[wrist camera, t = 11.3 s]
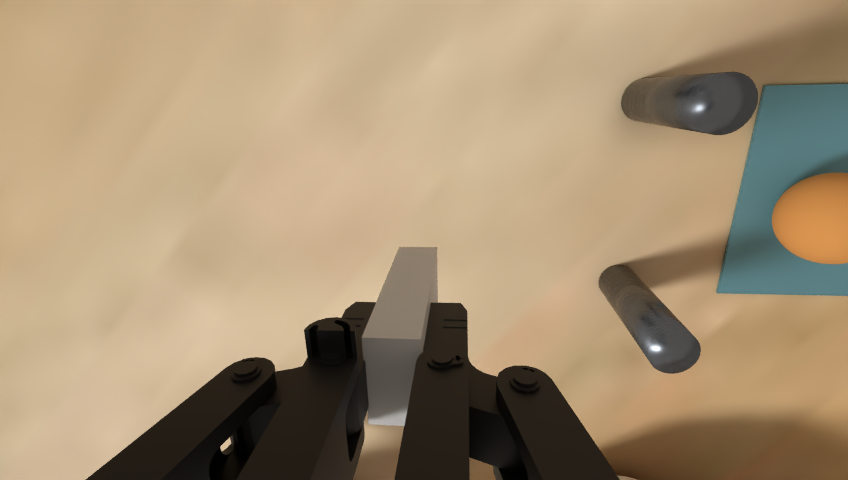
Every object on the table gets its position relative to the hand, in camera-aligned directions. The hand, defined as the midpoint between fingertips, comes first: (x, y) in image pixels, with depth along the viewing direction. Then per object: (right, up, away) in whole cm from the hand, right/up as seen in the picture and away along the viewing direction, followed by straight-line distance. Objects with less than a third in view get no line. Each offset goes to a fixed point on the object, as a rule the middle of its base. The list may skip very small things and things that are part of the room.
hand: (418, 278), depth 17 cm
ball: (+25, +3, +9) cm, 26 cm away
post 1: (+14, +10, +10) cm, 20 cm away
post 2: (+14, -1, +14) cm, 20 cm away
